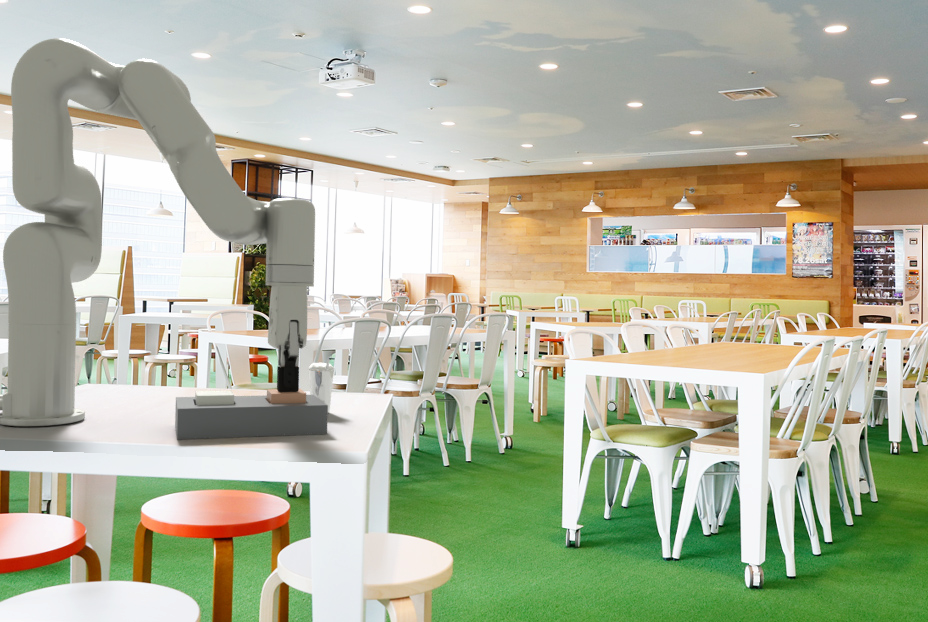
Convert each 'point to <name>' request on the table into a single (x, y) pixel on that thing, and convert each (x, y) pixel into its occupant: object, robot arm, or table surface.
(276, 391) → the clay key
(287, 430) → the key panel
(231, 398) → the white square block
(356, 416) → the table surface
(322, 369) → the milkshake
